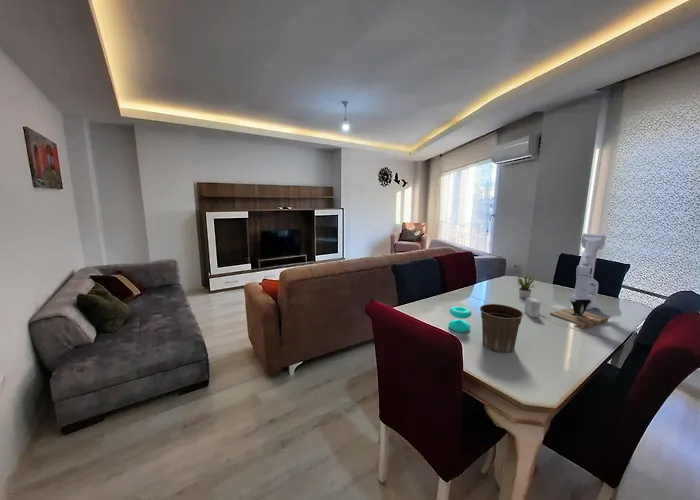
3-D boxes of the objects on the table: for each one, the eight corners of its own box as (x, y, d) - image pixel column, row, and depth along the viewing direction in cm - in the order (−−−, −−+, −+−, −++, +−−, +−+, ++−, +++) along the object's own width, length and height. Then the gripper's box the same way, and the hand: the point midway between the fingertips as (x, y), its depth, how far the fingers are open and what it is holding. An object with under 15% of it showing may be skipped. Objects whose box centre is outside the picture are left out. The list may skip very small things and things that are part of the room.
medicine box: (539, 317, 154) (540, 302, 153) (529, 317, 155) (531, 301, 154) (532, 312, 162) (534, 297, 161) (524, 311, 163) (525, 297, 161)
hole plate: (574, 312, 162) (574, 307, 162) (607, 323, 147) (608, 318, 147) (549, 317, 155) (550, 312, 155) (582, 329, 140) (583, 323, 140)
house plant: (539, 297, 187) (542, 273, 184) (539, 304, 175) (542, 278, 173) (514, 294, 194) (516, 270, 192) (513, 299, 183) (515, 274, 180)
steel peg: (577, 313, 153) (578, 303, 152) (584, 316, 150) (585, 305, 149) (572, 314, 152) (573, 303, 151) (579, 317, 149) (580, 306, 148)
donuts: (476, 311, 137) (460, 314, 133) (474, 330, 138) (458, 334, 134) (460, 304, 146) (445, 307, 142) (459, 323, 147) (444, 326, 143)
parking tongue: (557, 306, 170) (558, 304, 170) (568, 310, 165) (568, 307, 165) (548, 308, 168) (548, 306, 167) (559, 312, 162) (559, 309, 162)
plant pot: (500, 359, 113) (504, 320, 110) (468, 341, 128) (471, 306, 125) (528, 351, 119) (532, 314, 117) (495, 335, 134) (498, 301, 131)
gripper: (582, 284, 155) (579, 308, 157) (564, 287, 150) (561, 312, 152) (598, 288, 148) (594, 313, 150) (579, 291, 143) (576, 317, 145)
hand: (578, 313), depth 151 cm, fingers closed on steel peg, 3 cm apart
